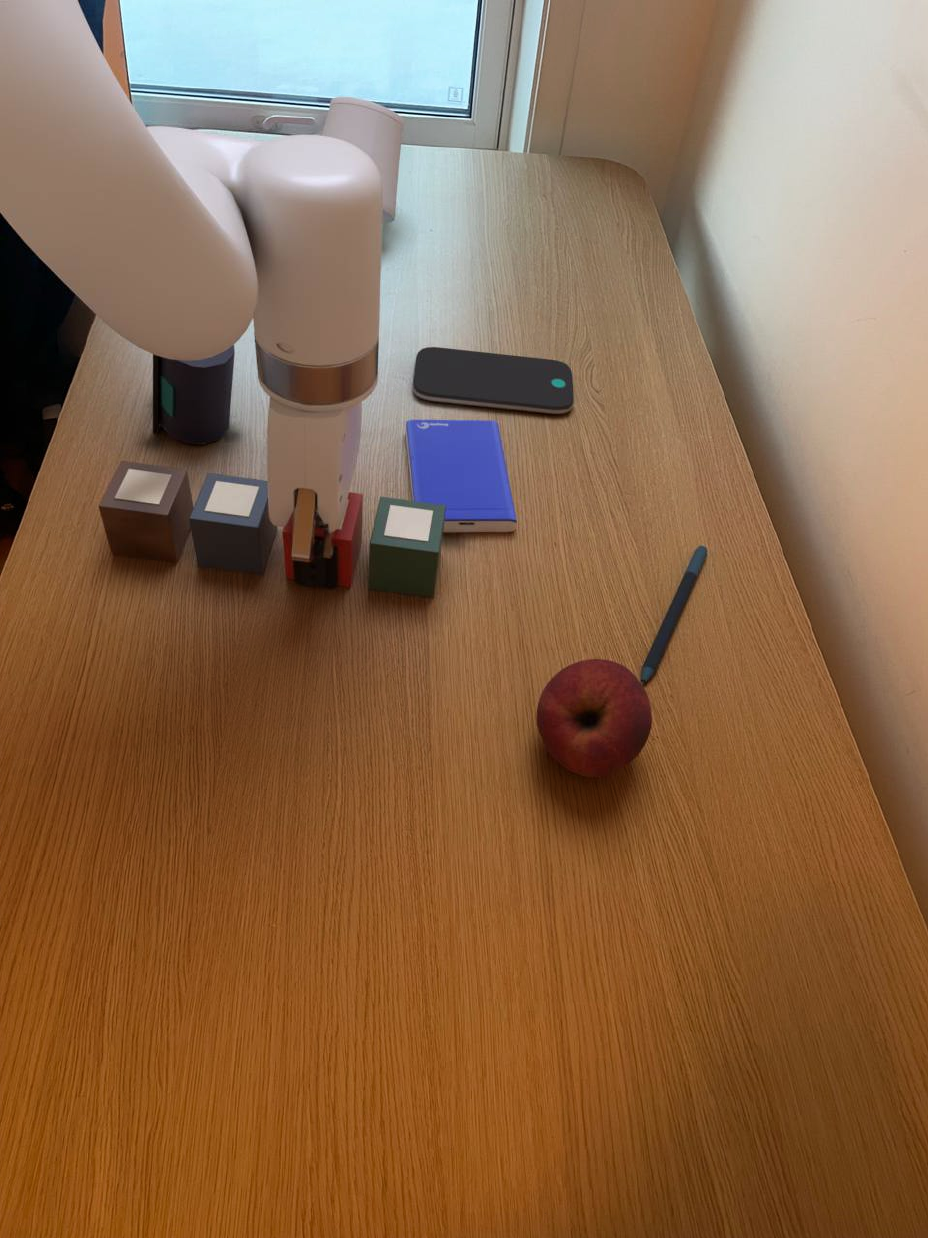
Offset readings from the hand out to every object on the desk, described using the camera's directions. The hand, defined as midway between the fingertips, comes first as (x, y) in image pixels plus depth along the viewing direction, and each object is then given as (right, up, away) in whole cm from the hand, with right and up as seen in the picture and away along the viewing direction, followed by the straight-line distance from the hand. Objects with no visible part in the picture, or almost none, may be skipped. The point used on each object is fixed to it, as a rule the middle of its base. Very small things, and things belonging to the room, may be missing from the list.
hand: (323, 554), depth 72 cm
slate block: (-7, +1, 0) cm, 7 cm away
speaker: (-12, +12, +9) cm, 20 cm away
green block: (+6, -1, 0) cm, 6 cm away
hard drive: (+10, +7, +8) cm, 14 cm away
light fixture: (-5, +38, +32) cm, 50 cm away
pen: (+27, -5, +1) cm, 27 cm away
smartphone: (+14, +17, +17) cm, 27 cm away
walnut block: (-13, +2, 0) cm, 13 cm away
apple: (+19, -14, -8) cm, 25 cm away
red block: (0, 0, 0) cm, 0 cm away
